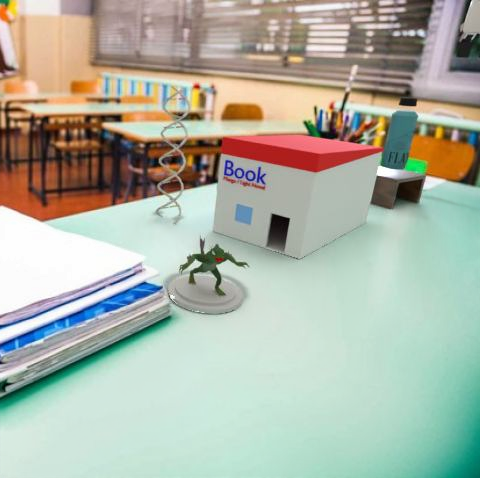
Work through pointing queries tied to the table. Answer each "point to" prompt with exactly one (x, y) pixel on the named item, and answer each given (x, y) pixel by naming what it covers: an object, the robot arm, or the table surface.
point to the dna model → (176, 148)
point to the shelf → (396, 187)
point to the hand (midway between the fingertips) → (473, 57)
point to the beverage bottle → (400, 136)
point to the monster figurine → (207, 284)
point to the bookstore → (293, 190)
